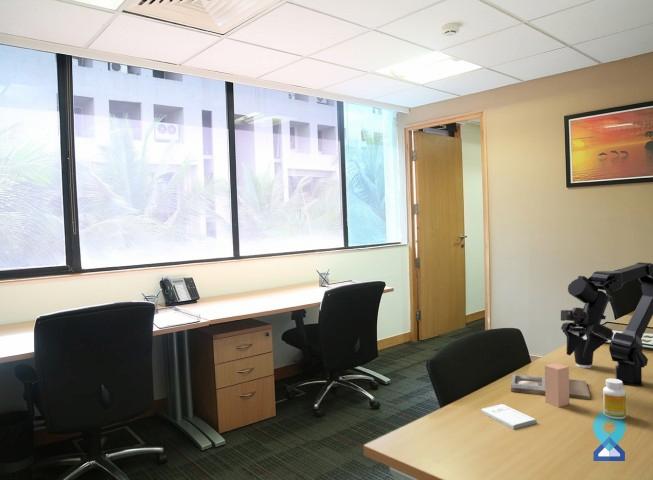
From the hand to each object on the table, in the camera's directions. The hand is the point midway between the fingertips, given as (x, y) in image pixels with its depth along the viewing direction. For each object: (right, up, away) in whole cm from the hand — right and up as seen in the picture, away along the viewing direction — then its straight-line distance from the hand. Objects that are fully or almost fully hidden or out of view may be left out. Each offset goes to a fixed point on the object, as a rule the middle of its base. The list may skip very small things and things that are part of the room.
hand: (576, 355), depth 147 cm
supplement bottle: (+3, -13, -15) cm, 20 cm away
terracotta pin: (-8, -13, -5) cm, 16 cm away
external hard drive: (-26, -15, -13) cm, 32 cm away
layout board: (-5, -12, +8) cm, 15 cm away
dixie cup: (+17, -10, +27) cm, 33 cm away
